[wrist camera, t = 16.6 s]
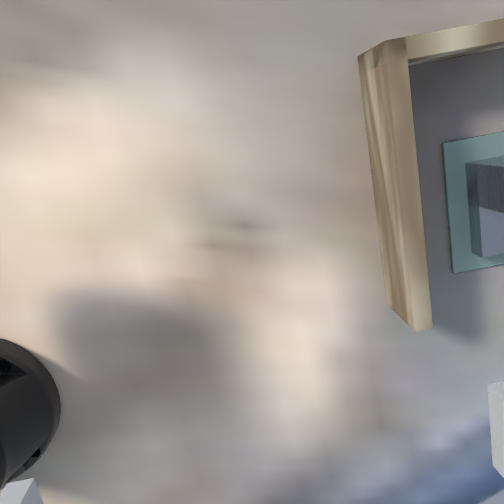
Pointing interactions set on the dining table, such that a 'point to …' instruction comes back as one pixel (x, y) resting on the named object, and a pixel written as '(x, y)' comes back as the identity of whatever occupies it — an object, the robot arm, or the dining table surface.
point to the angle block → (486, 205)
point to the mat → (466, 197)
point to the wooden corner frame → (407, 155)
